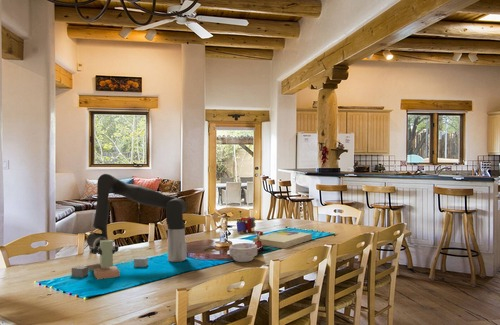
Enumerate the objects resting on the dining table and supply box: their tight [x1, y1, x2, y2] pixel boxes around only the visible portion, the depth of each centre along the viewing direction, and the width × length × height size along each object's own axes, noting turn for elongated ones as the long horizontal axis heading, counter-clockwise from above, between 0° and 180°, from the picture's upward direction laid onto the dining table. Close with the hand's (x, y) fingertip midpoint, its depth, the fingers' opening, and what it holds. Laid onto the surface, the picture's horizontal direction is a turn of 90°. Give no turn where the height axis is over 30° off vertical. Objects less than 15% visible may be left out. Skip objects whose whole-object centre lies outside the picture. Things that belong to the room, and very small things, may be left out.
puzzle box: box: [252, 230, 313, 249], centre depth 273 cm, size 36×5×24 cm
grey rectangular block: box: [71, 265, 89, 278], centre depth 194 cm, size 6×4×4 cm, turn 73°
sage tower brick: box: [99, 238, 114, 268], centre depth 195 cm, size 5×5×12 cm
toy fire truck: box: [255, 231, 264, 248], centre depth 252 cm, size 3×14×10 cm, turn 168°
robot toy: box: [236, 210, 257, 234], centre depth 309 cm, size 17×9×20 cm
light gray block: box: [133, 256, 149, 268], centre depth 212 cm, size 6×4×4 cm, turn 87°
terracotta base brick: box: [93, 265, 121, 280], centre depth 195 cm, size 10×10×3 cm
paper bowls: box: [228, 242, 258, 263], centre depth 223 cm, size 15×15×8 cm
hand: (107, 252), depth 192 cm, fingers closed on sage tower brick, 4 cm apart
